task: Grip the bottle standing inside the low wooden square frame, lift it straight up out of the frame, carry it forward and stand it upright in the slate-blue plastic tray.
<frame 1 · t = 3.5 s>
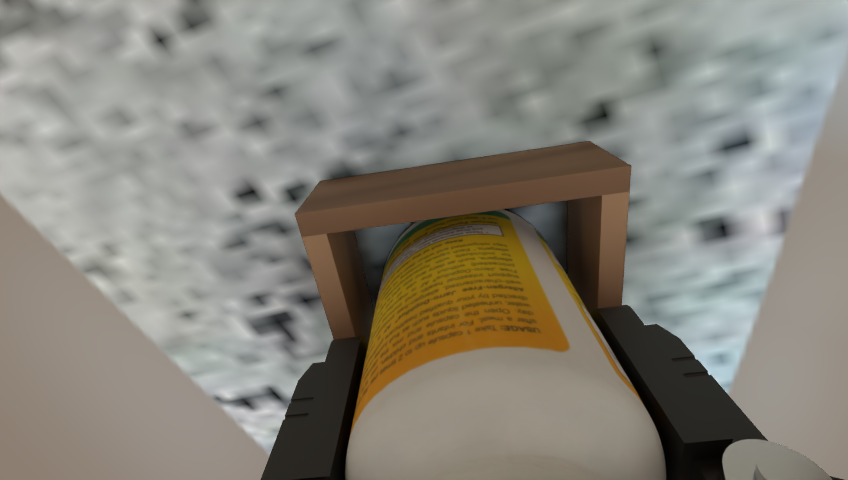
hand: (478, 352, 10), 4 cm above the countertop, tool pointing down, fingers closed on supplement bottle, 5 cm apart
wooden square frame: (466, 277, 13), on the countertop
supplement bottle: (465, 273, 13), resting in wooden square frame, touching gripper
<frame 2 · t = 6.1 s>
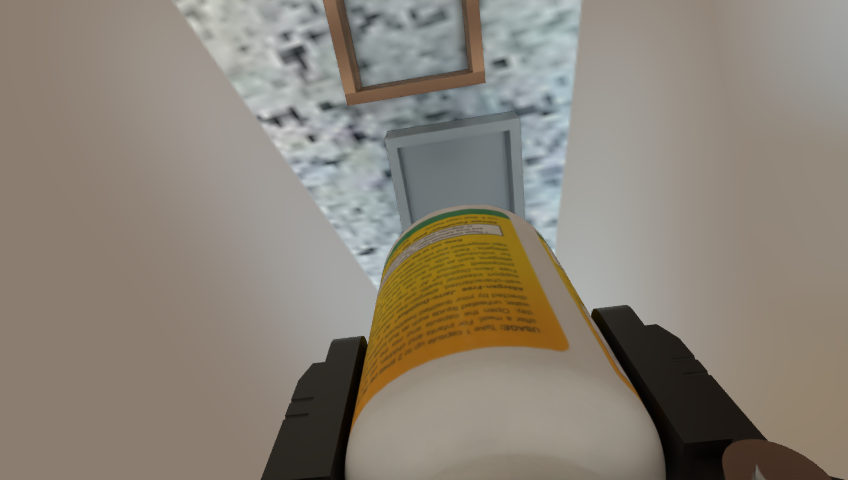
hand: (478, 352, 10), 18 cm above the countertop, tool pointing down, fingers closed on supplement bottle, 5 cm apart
wooden square frame: (405, 17, 23), on the countertop
supplement bottle: (465, 273, 13), point 15 cm above the countertop, touching gripper
tray: (457, 182, 27), on the countertop
when the fingers open (6 cm above the countertop, at t = 9.0 s): supplement bottle drops 1 cm, resting on tray.
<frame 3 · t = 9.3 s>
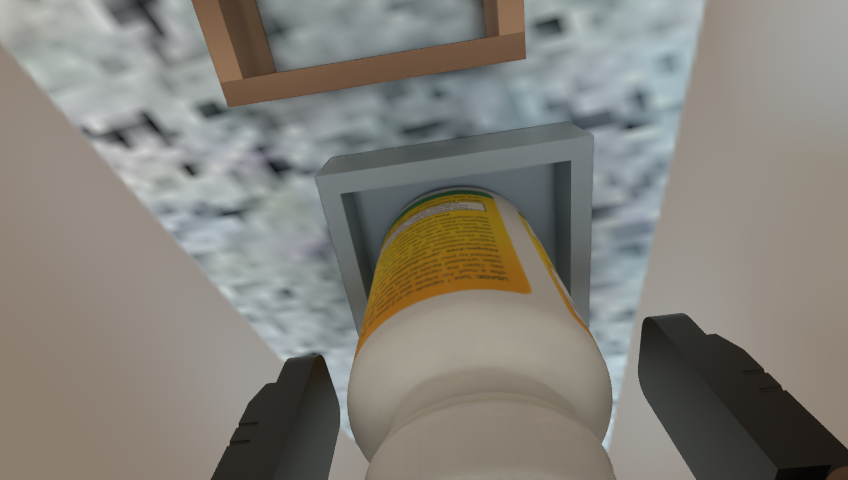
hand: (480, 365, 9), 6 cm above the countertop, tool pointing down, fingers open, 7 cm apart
supplement bottle: (456, 251, 15), resting on tray
tray: (460, 248, 15), on the countertop
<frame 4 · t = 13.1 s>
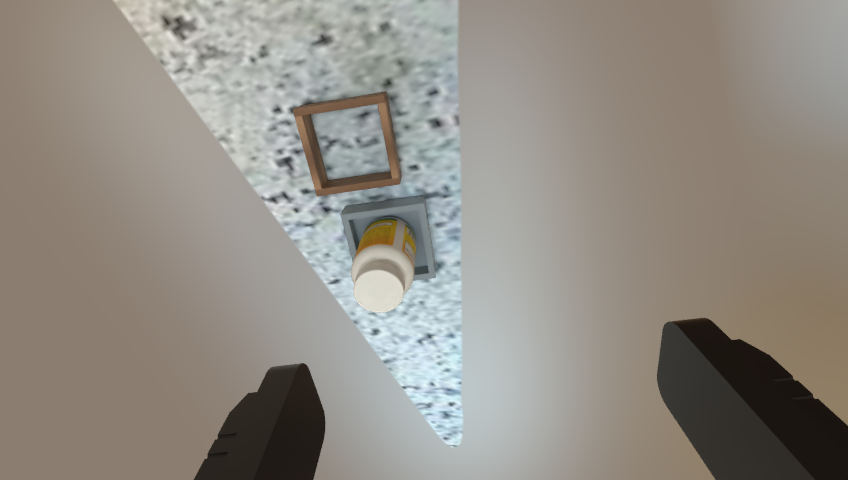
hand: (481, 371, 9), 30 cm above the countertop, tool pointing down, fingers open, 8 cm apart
wooden square frame: (353, 141, 37), on the countertop
supplement bottle: (389, 238, 41), resting on tray
tray: (391, 237, 41), on the countertop
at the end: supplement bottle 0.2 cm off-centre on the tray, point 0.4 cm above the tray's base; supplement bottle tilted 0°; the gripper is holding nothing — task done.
